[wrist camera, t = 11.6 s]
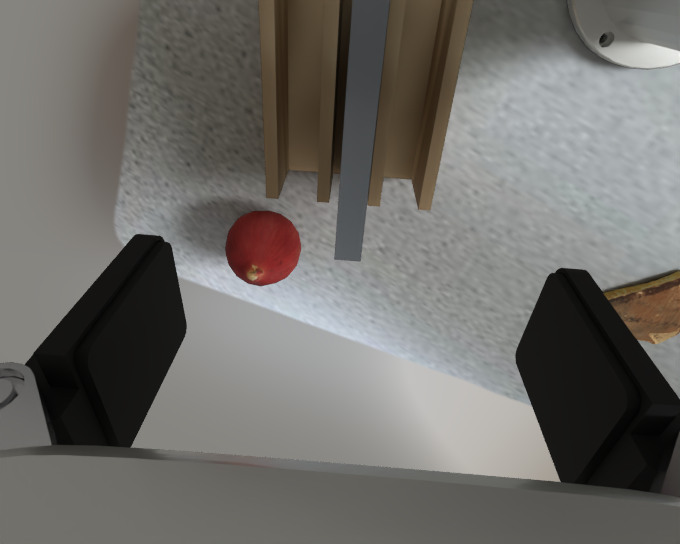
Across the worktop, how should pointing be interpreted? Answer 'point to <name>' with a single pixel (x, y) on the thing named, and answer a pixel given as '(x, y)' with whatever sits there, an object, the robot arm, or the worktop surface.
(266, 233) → the onion
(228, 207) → the worktop surface
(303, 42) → the rack
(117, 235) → the worktop surface
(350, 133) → the plate
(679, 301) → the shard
